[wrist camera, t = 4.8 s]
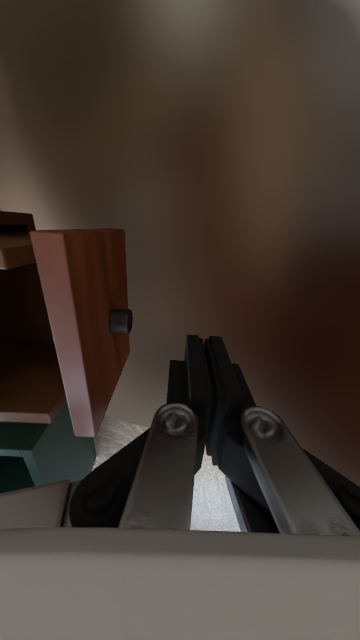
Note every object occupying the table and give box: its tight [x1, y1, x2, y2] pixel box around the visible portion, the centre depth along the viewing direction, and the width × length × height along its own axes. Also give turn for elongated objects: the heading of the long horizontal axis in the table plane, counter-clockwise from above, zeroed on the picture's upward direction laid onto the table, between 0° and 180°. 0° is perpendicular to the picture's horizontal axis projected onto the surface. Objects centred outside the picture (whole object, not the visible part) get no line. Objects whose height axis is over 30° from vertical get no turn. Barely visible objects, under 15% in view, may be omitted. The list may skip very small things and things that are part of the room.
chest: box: [0, 400, 96, 493], centre depth 21 cm, size 15×12×8 cm
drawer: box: [0, 229, 133, 437], centre depth 13 cm, size 14×11×9 cm
